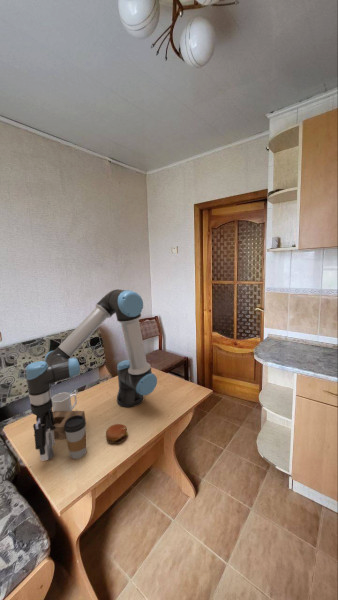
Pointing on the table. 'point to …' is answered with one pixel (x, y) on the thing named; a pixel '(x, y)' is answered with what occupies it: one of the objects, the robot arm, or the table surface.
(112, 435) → the burger
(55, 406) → the mug
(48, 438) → the pin
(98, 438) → the table surface
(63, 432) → the socket block
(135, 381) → the robot arm
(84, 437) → the coffee cup
